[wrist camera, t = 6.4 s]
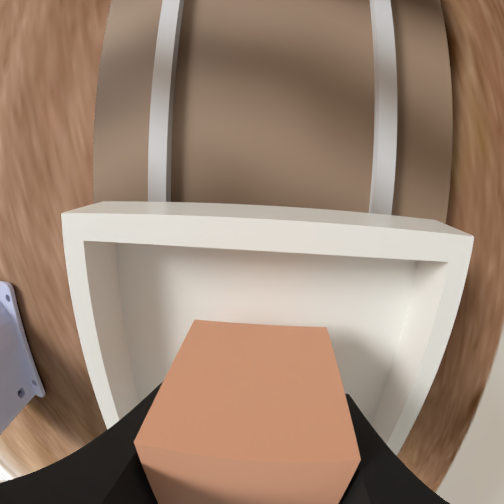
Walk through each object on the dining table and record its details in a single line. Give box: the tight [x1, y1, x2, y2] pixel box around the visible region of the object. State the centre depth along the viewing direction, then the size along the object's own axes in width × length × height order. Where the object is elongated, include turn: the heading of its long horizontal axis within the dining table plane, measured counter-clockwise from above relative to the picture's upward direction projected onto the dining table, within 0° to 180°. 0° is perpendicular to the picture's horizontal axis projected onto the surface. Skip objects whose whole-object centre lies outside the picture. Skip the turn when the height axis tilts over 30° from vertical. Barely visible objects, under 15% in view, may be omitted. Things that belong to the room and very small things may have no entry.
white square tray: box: [61, 201, 474, 456], centre depth 11 cm, size 11×12×4 cm
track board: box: [93, 0, 453, 224], centre depth 13 cm, size 30×16×3 cm, turn 178°
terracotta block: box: [134, 319, 361, 504], centre depth 7 cm, size 4×4×5 cm
